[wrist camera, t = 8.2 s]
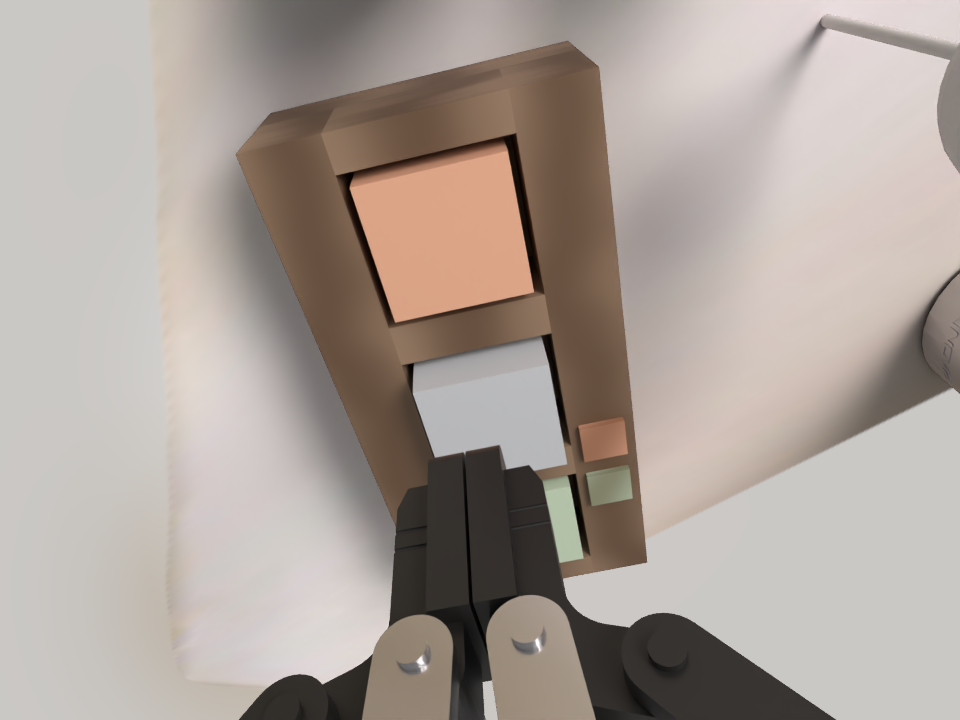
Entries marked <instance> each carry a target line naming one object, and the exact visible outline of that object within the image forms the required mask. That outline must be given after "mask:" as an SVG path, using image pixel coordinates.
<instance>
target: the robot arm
mask: <svg viewBox="0 0 960 720" xmlns="http://www.w3.org/2000/svg"><path fill="white" fill-rule="evenodd" d="M922 348H923V352H924V357H925V359H926V361H927V362H928V364H929V366H930V367H931V368H932V369H933V370H934V371H935V372H936V373H937V374H938V375H939V376H940V377H942V378H943V379H944V380H945V381H946V382H947V383H948V384H949V385H951V386H952V387H953V388H954V389H955V390H956V391H957V392H959V393H960V273H959V274H958V275H957V276H956V277H955V278H954V279H953V280H952V281H951V282H950V283H949V285H948V286H947V287H946V288H945V290H944V291H943V292H942V293H941V295H940V296H939V297H938V299H937V300H936V302H935V304H934V306H933V307H932V309H931V311H930V313H929V315H928V318H927V320H926V323H925V326H924V329H923V338H922ZM491 680H492V682H493V689H494V695H495V702H496V708H497V715H498V720H836V719H834V718H833V717H831V716H830V715H828V714H827V713H825V712H824V711H822V710H821V709H820V708H818V707H817V706H815V705H814V704H812V703H811V702H809V701H808V700H806V699H805V698H803V697H802V696H801V695H799V694H798V693H796V692H795V691H793V690H792V689H790V688H789V687H787V686H786V685H785V684H783V683H782V682H780V681H779V680H777V679H776V678H774V677H773V676H771V675H770V674H769V673H767V672H766V671H764V670H763V669H761V668H760V667H758V666H757V665H755V664H754V663H752V662H751V661H750V660H748V659H746V658H745V657H744V656H742V655H741V654H739V653H738V652H736V651H735V650H733V649H732V648H731V647H729V646H728V645H726V644H725V643H723V642H722V641H720V640H719V639H717V638H716V637H715V636H713V635H712V634H710V633H709V632H707V631H706V630H704V629H703V628H701V627H700V626H698V625H697V624H696V623H694V622H692V621H691V620H689V619H687V618H684V617H682V616H680V615H675V614H669V613H656V614H652V615H648V616H645V617H643V618H641V619H640V620H638V621H636V622H635V623H634V624H633V625H632V626H631V627H630V628H628V627H621V626H615V625H608V624H602V623H598V622H595V621H593V620H590V619H588V618H587V617H585V616H583V615H582V614H580V613H579V612H578V611H577V610H576V609H575V608H574V607H573V606H572V605H571V604H570V602H569V601H568V599H567V597H566V594H565V588H564V583H563V578H562V573H561V567H560V562H559V557H558V552H557V547H556V541H555V536H554V531H553V526H552V522H551V517H550V513H549V508H548V503H547V499H546V494H545V490H544V485H543V481H542V480H541V479H540V478H539V476H538V475H537V474H536V473H535V472H534V470H533V469H532V468H531V467H530V466H529V465H526V466H521V467H516V468H511V469H506V465H505V461H504V457H503V454H502V450H501V447H500V445H496V446H491V447H486V448H481V449H476V450H470V451H466V452H465V454H464V452H461V453H456V454H451V455H446V456H441V457H436V458H431V459H429V461H428V485H424V486H419V487H414V488H409V489H408V490H407V492H406V494H405V496H404V498H403V500H402V502H401V503H400V505H399V507H398V509H397V521H396V536H395V554H394V566H393V580H392V595H391V610H390V621H389V627H388V629H387V630H386V631H385V632H384V633H383V634H382V636H381V637H380V639H379V640H378V642H377V644H376V646H375V649H374V652H373V654H372V655H371V656H370V657H369V658H368V659H367V660H366V661H364V662H363V663H362V664H360V665H359V666H357V667H355V668H354V669H352V670H350V671H348V672H346V673H344V674H342V675H340V676H338V677H336V678H334V679H332V680H330V681H329V682H327V683H325V684H323V685H322V684H321V683H320V682H319V681H318V680H317V679H315V678H314V677H312V676H308V675H301V674H298V675H292V676H288V677H285V678H283V679H281V680H278V681H277V682H275V683H274V684H272V685H271V686H269V687H268V688H267V689H266V690H265V691H264V692H263V693H262V694H261V695H260V696H259V697H258V698H257V699H256V700H255V702H254V703H253V704H252V705H251V706H250V707H249V709H248V710H247V711H246V712H245V713H244V714H243V715H242V717H241V718H240V719H239V720H486V719H485V716H484V699H483V683H482V682H485V681H491Z"/></svg>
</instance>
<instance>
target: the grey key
mask: <svg viewBox="0 0 960 720" xmlns="http://www.w3.org/2000/svg"><path fill="white" fill-rule="evenodd" d="M413 395H414V398H415V401H416V404H417V407H418V410H419V413H420V416H421V418H422V421H423V424H424V427H425V430H426V433H427V436H428V439H429V442H430V444H431V447H432V450H433V453H434V456H435V458H436V457H441V456H446V455H451V454H456V453H461V452H464V454H465V452H466V451H470V450H476V449H481V448H486V447H491V446H496V445H500V447H501V450H502V454H503V457H504V461H505V465H506V469H511V468H516V467H521V466H526V465H529V466H530V467H531V468H532V469H533V470H534V471H536V470H541V469H546V468H551V467H556V466H561V465H566V464H567V460H566V454H565V449H564V444H563V438H562V433H561V427H560V422H559V416H558V411H557V406H556V400H555V395H554V389H553V384H552V379H551V373H550V368H549V363H548V359H547V356H546V352H545V348H544V344H543V341H542V337H541V336H536V337H532V338H527V339H522V340H518V341H513V342H508V343H503V344H499V345H494V346H489V347H485V348H480V349H475V350H471V351H466V352H461V353H457V354H452V355H447V356H443V357H438V358H433V359H429V360H424V361H419V362H414V374H413Z"/></svg>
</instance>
